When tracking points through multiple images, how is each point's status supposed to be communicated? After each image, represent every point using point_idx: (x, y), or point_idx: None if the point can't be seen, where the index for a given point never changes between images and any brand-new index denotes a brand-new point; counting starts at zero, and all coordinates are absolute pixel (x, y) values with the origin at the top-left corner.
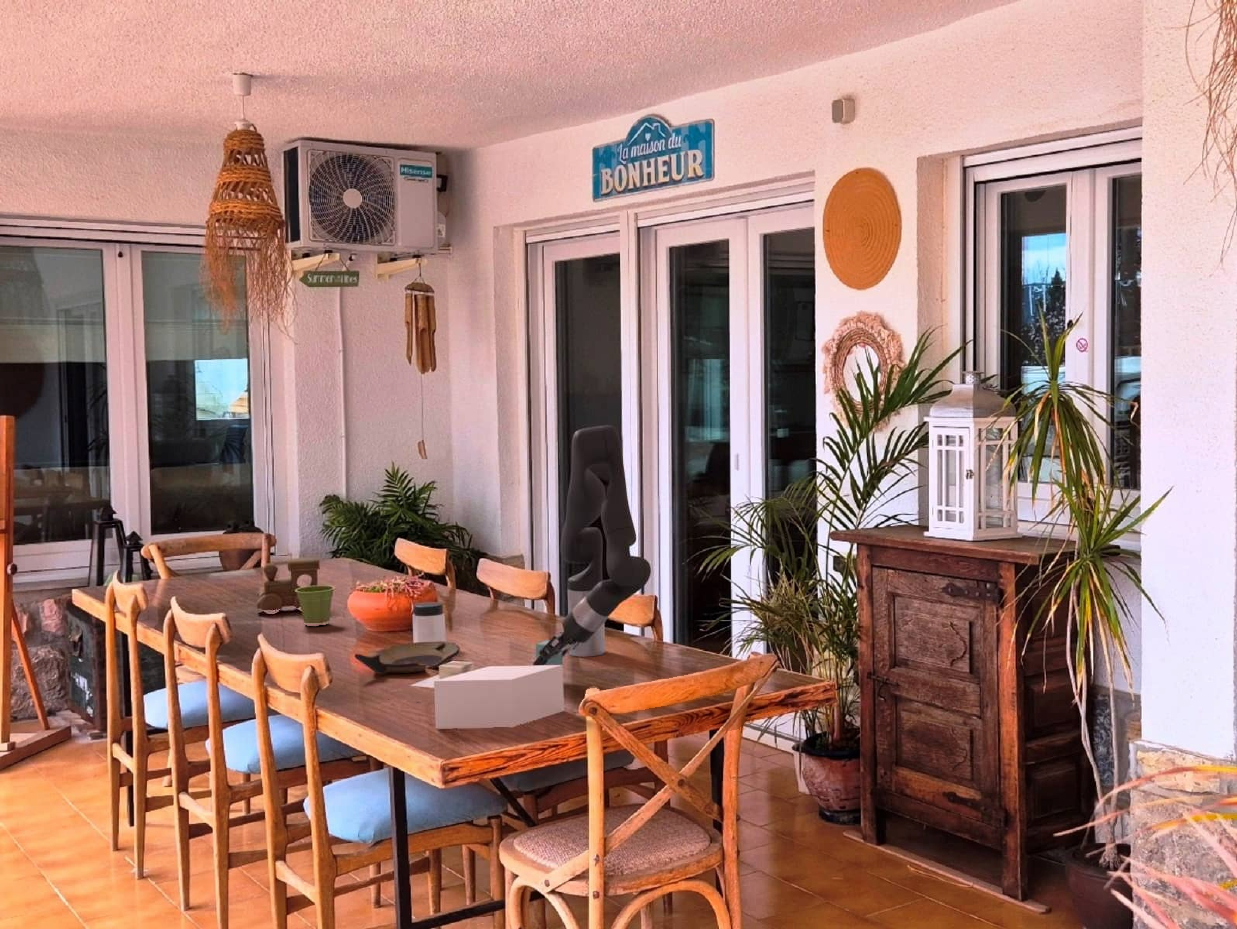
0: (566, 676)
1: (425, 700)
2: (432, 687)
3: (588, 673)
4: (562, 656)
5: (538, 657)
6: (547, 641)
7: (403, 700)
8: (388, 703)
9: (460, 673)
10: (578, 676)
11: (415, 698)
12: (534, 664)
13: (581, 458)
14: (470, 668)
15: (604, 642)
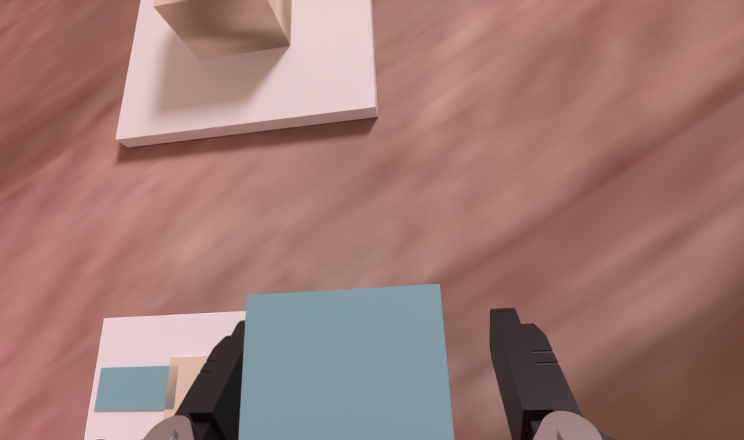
0: (587, 342)
1: (49, 77)
2: (140, 13)
3: (733, 433)
4: (509, 420)
5: (211, 372)
6: (402, 337)
7: (43, 27)
8: (8, 17)
9: (171, 27)
10: (627, 411)
11: (68, 38)
12: (226, 341)
13: None
14: (242, 10)
15: None
